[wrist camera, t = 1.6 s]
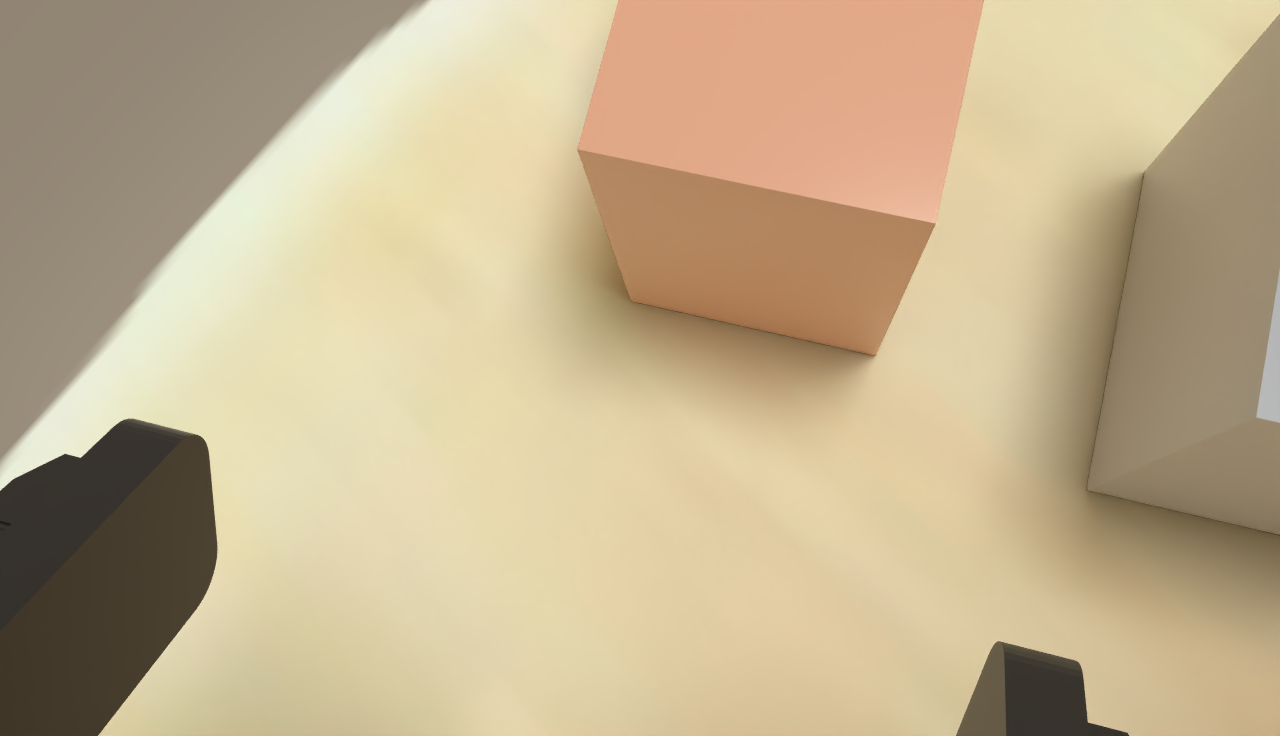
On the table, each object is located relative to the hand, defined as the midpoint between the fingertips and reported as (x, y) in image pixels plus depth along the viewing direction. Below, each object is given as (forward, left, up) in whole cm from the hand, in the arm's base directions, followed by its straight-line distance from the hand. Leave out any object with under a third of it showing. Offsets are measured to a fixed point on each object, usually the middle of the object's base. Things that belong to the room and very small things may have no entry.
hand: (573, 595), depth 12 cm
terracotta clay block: (-8, -8, -18) cm, 22 cm away
